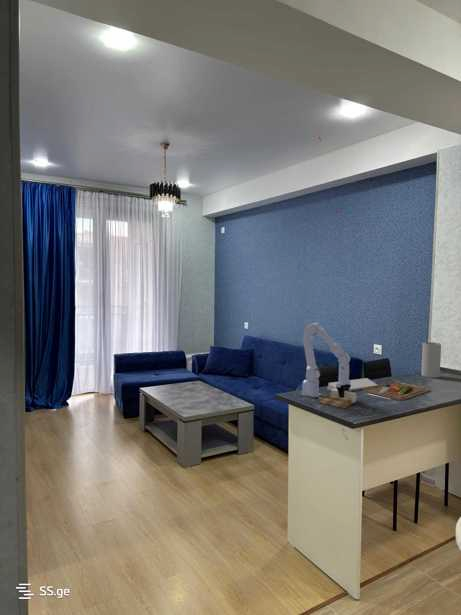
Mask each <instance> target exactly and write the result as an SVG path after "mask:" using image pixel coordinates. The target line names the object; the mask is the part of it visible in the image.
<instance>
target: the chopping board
mask: <svg viewBox="0 0 461 615" xmlns="http://www.w3.org/2000/svg"><path fill="white" fill-rule="evenodd" d="M429 392H431V388H427V387H425V386H424V387H423V386H418V385H415V384H414V385H413V384H408V383H404V382H397V381H390V382H386V383H384V384H380V385H378V386H375V387H372V388H368V389H362V393H365V394H366V395H369V396H372V397H377V398H382V399H385V400H390V401H391V400H396V401H406V400H408V399H411V398H415V397H417V396H420V395H423V394H427V393H429Z"/></svg>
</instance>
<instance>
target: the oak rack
mask: <svg viewBox="0 0 461 615" xmlns="http://www.w3.org/2000/svg"><path fill="white" fill-rule="evenodd" d="M323 396H324V397H321V396H318V397H317V398H318V399H317V403H319V404H324V405H328V406H331V407H336V408H341V409H346V408H348V407H349V406H352V403H351V401H352V400H350V399H345V398H340V397H335V396H331V394H329V395H328V394H324V395H323Z"/></svg>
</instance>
